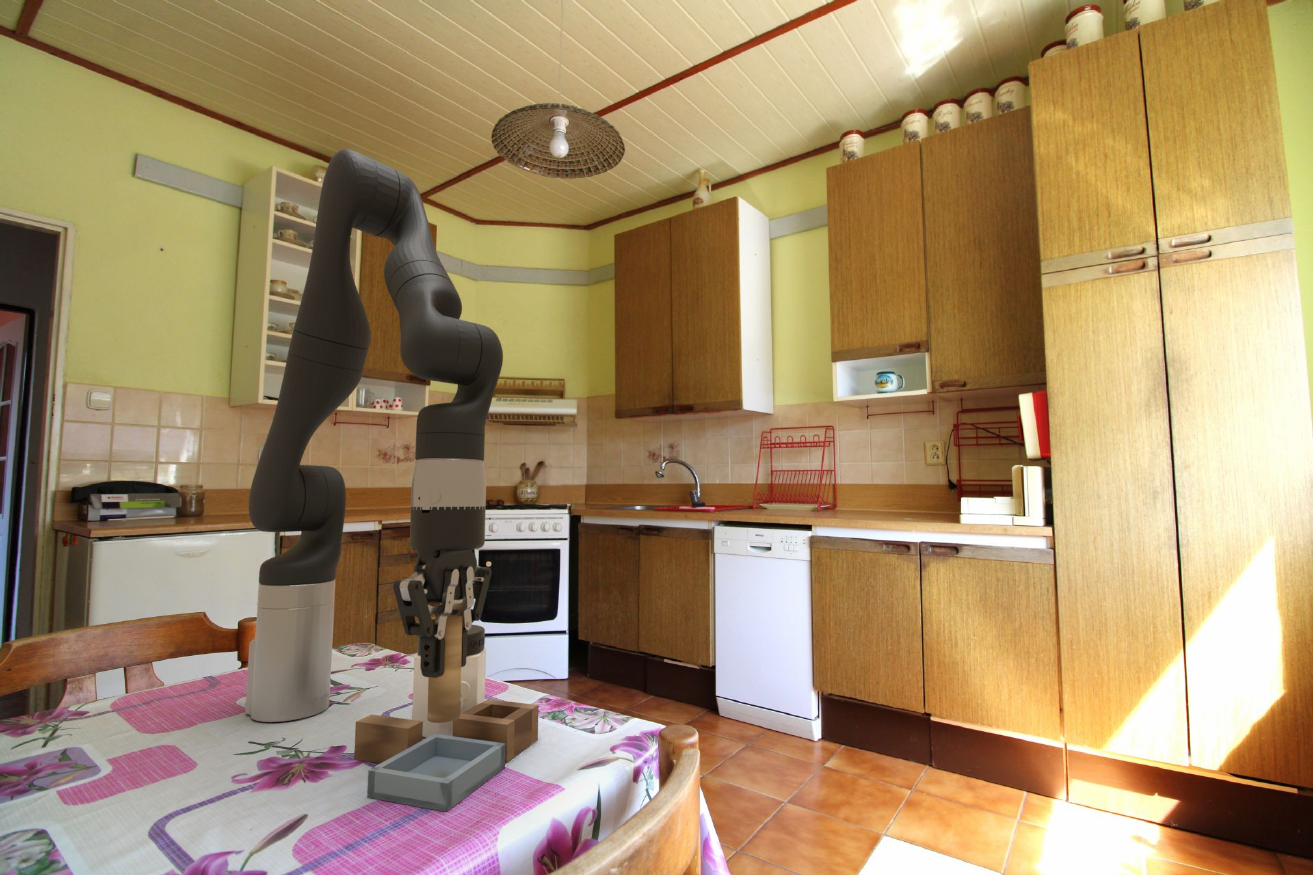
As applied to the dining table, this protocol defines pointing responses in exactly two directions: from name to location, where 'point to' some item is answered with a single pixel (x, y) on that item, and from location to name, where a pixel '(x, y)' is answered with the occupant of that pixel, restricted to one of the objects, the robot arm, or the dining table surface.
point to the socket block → (500, 725)
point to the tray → (436, 772)
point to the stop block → (385, 737)
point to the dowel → (447, 676)
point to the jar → (469, 683)
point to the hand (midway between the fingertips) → (444, 670)
